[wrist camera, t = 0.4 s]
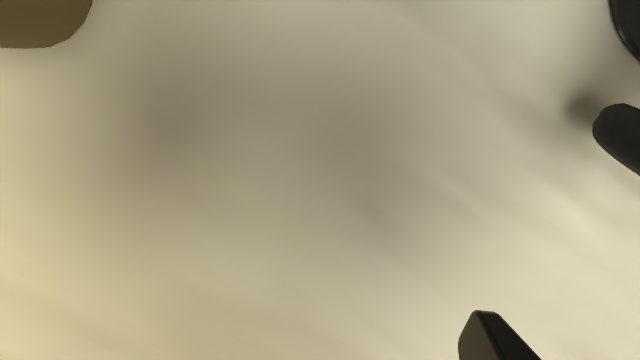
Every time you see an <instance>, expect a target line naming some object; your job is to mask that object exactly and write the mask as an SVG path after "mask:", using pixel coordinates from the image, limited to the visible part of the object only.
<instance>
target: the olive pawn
mask: <svg viewBox="0 0 640 360" xmlns="http://www.w3.org/2000/svg"><path fill="white" fill-rule="evenodd" d="M91 5H92V0H0V48H40V47H50V46H53V45H55V44H57V43H60V42H62V41H64V40H66V39H69V38H70V37H71V36H72V35H73V34H74V33H75V32H76V31H77V30H78V29H79V28H80V27H81V26H82V25H83V23H84V21H85V19H86V16H87V14H88V12H89V9H90V7H91Z"/></svg>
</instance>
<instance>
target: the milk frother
mask: <svg viewBox="0 0 640 360" xmlns="http://www.w3.org/2000/svg"><path fill="white" fill-rule="evenodd" d="M611 4H612V10H613V15H614V20H615V23H616V26H617V29H618V31H619V33H620V35H621V37H622V40H623V42H624V43H625V44H626V46H627V47H628V48H629V49H630V51H631V52H633V54H634V55H635V56H636V57H637V58H638V59H639V60H640V0H611ZM592 131H593V137H594V138H595V140H596V141H597V143H598V144H599V145H600V146H601V147H602V148H603V149H604V150H605V151H606V152H607V153H609V154H610V155H611V156H612V157H614V158H615V159H616V160H617V161H619V162H620V163H622V164H623V165H624V166H626V167H627V168H629V169H630V170H632V171H633V172H635V173H636V174H638V175H639V176H640V109H638V108H635V107H633V106H630V105H628V104H624V103H621V104H614V105H611V106H608V107H606V108H604V109H603V110H602V111H601V112H600V114H599V116H598V118H597V119H596V120H595V122H594V123H593V129H592Z"/></svg>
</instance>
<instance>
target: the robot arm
mask: <svg viewBox="0 0 640 360" xmlns="http://www.w3.org/2000/svg"><path fill="white" fill-rule="evenodd" d="M458 353H459V360H541V359H540V358H539V356H538V355H537V354H536V353H535V352H534V351H533V350H532V349H531V348H530V347H529V346H528V345H527V344H526V343H525V342H524V341H523V339H522V338H521V337H520V336H519V335H518V334H517V333H516V332H515V331H514V330H513V329H512V328H511V327H510V326H509V325H508V323H507V322H506V321H505V320H504V319H503V318H502V317H501V316H500V315H499V314H497V313H495V312H492V311H482V310H475V311H474V312H472V314H471V315H470V317H469V319H468V321H467V323H466V325H465V327H464V329H463V331H462V333H461V335H460V337H459V341H458Z"/></svg>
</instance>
